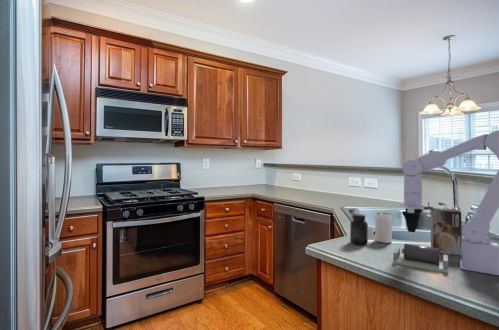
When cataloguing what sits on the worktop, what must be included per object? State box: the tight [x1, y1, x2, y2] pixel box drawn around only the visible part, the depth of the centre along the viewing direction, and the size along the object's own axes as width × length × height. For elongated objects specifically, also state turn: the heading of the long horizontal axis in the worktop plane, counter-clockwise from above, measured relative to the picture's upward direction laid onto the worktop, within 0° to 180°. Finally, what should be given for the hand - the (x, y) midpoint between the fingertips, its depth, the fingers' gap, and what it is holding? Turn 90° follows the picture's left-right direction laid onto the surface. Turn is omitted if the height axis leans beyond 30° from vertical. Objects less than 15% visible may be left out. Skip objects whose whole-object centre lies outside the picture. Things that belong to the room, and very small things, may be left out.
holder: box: [392, 247, 449, 274], centre depth 96 cm, size 15×8×4 cm, turn 56°
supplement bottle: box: [349, 213, 369, 247], centre depth 120 cm, size 7×7×12 cm
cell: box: [401, 243, 440, 264], centre depth 96 cm, size 11×5×5 cm, turn 57°
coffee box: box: [430, 207, 463, 256], centre depth 109 cm, size 9×6×16 cm
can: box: [374, 212, 393, 244], centre depth 123 cm, size 6×6×12 cm
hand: (412, 229), depth 105 cm, fingers open, 7 cm apart
